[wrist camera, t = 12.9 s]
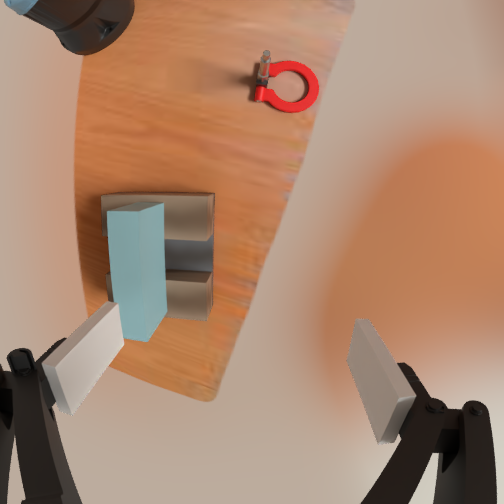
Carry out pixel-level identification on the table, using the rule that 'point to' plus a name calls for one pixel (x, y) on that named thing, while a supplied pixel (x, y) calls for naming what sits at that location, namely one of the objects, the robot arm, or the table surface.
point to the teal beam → (138, 267)
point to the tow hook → (274, 70)
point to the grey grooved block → (179, 248)
